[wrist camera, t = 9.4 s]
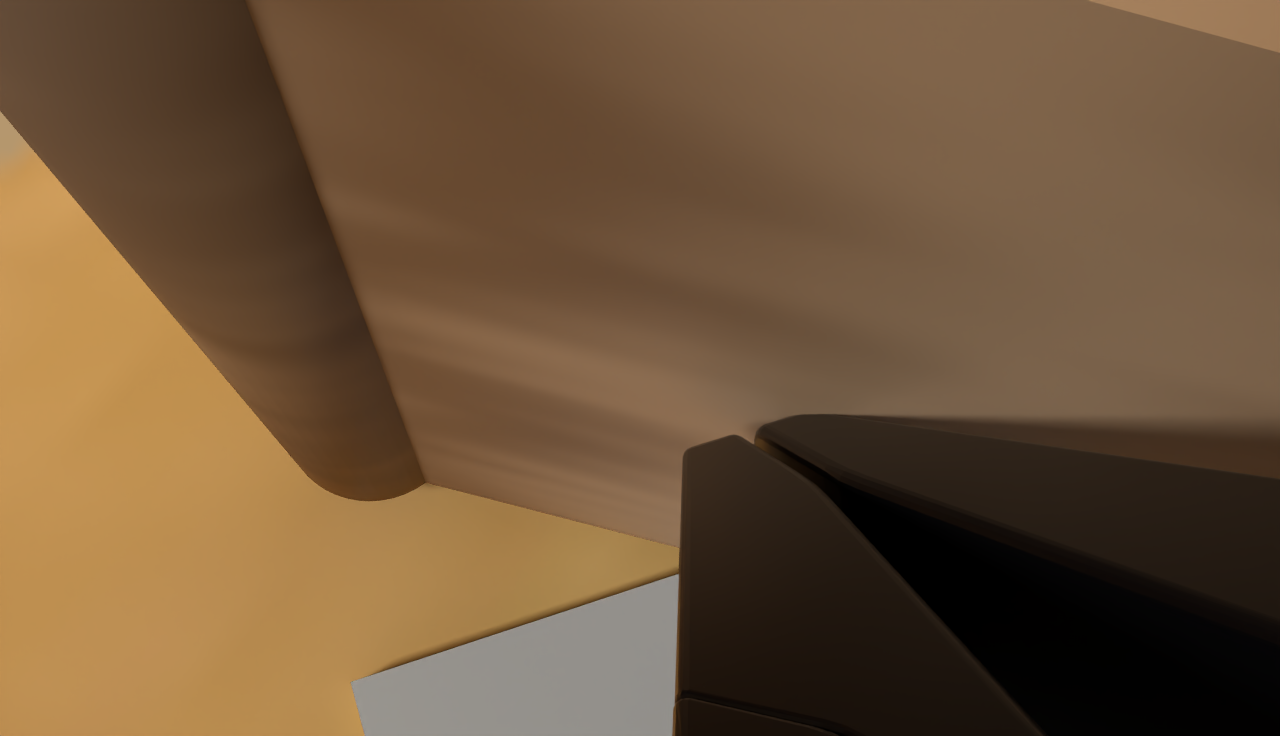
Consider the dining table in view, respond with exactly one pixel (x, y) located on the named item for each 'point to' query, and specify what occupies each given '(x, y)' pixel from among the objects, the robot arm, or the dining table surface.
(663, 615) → the card
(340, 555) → the dining table surface
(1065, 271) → the fence panel
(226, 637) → the dining table surface
